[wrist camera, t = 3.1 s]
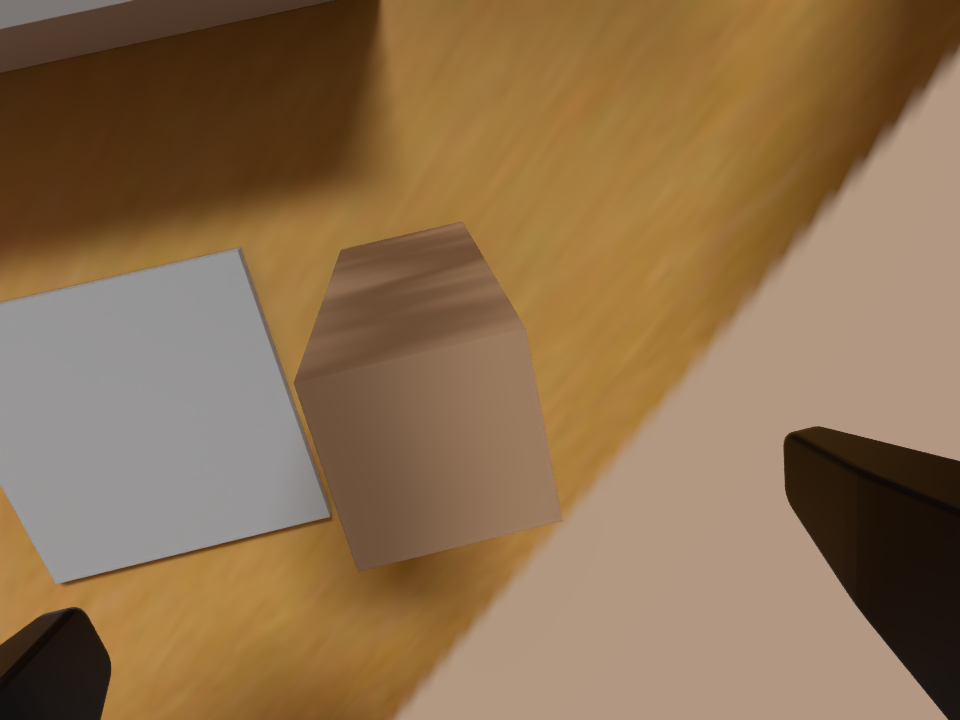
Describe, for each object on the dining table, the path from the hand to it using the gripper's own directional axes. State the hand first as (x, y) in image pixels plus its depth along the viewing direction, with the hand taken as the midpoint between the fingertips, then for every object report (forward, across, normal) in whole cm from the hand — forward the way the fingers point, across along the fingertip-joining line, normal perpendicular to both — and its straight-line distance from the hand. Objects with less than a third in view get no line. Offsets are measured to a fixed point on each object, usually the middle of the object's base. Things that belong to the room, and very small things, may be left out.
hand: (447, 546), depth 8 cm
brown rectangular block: (+12, 0, 0) cm, 13 cm away
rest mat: (+12, +9, +2) cm, 16 cm away
